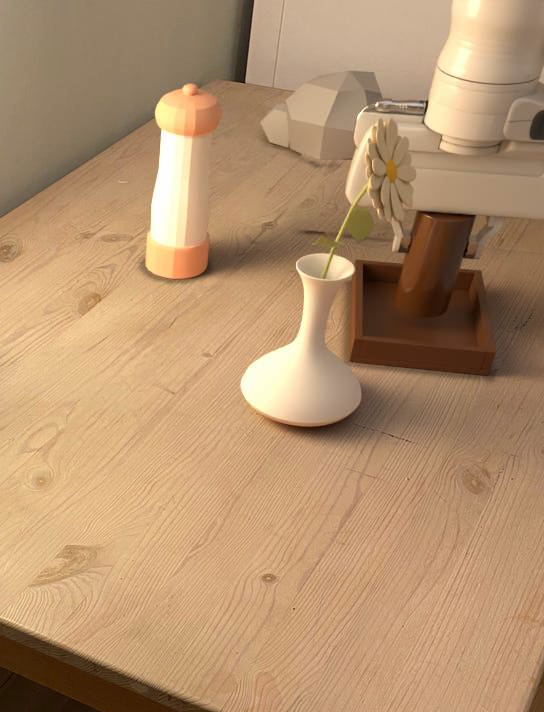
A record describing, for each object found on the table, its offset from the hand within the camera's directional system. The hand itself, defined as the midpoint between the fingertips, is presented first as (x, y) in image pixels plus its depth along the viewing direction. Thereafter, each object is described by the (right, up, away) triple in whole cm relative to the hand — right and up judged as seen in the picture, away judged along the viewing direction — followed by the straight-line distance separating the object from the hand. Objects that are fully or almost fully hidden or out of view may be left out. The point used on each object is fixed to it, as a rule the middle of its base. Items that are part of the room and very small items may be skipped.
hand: (435, 253), depth 96 cm
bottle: (0, -4, +4) cm, 6 cm away
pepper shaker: (-24, +5, +16) cm, 30 cm away
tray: (0, -5, +6) cm, 8 cm away
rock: (+1, +34, +42) cm, 54 cm away
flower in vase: (-14, -16, -4) cm, 22 cm away
